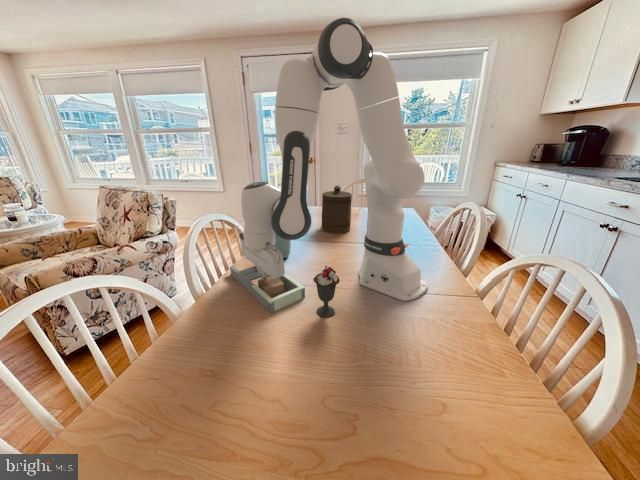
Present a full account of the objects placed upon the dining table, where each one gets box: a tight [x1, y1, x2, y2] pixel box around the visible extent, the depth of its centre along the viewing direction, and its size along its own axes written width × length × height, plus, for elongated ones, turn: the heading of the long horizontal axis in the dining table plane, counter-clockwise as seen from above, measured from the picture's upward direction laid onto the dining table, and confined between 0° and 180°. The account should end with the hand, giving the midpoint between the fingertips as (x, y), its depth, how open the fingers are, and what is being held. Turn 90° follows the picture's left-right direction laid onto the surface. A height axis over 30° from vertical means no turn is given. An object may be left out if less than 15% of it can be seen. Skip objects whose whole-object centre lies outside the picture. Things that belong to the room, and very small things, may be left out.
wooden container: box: [321, 185, 353, 234], centre depth 128 cm, size 15×15×22 cm
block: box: [257, 276, 285, 298], centre depth 76 cm, size 6×6×4 cm
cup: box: [273, 233, 292, 260], centre depth 99 cm, size 8×8×10 cm
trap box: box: [229, 265, 306, 314], centre depth 80 cm, size 27×11×4 cm, turn 40°
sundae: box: [312, 265, 340, 319], centre depth 66 cm, size 7×7×15 cm
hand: (263, 278), depth 80 cm, fingers closed
